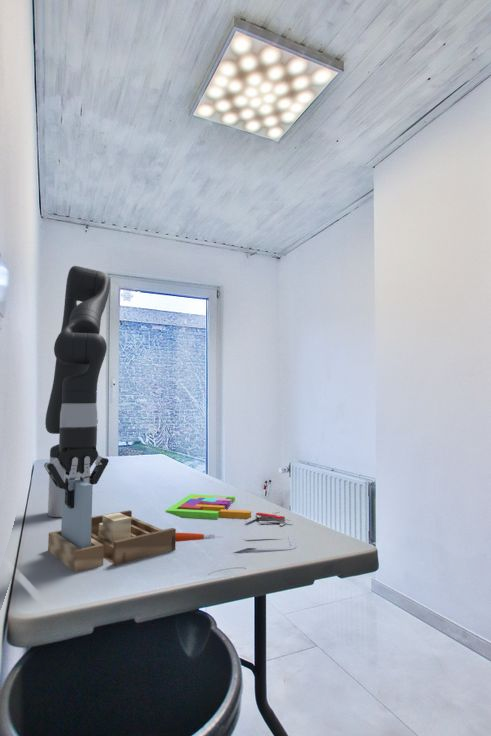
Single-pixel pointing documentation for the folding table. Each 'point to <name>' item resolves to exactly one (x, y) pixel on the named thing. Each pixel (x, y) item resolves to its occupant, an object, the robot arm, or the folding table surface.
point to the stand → (75, 552)
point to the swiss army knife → (269, 518)
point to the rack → (135, 541)
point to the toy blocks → (207, 507)
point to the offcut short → (116, 521)
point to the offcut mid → (114, 533)
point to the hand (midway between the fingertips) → (76, 506)
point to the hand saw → (200, 536)
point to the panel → (78, 515)
